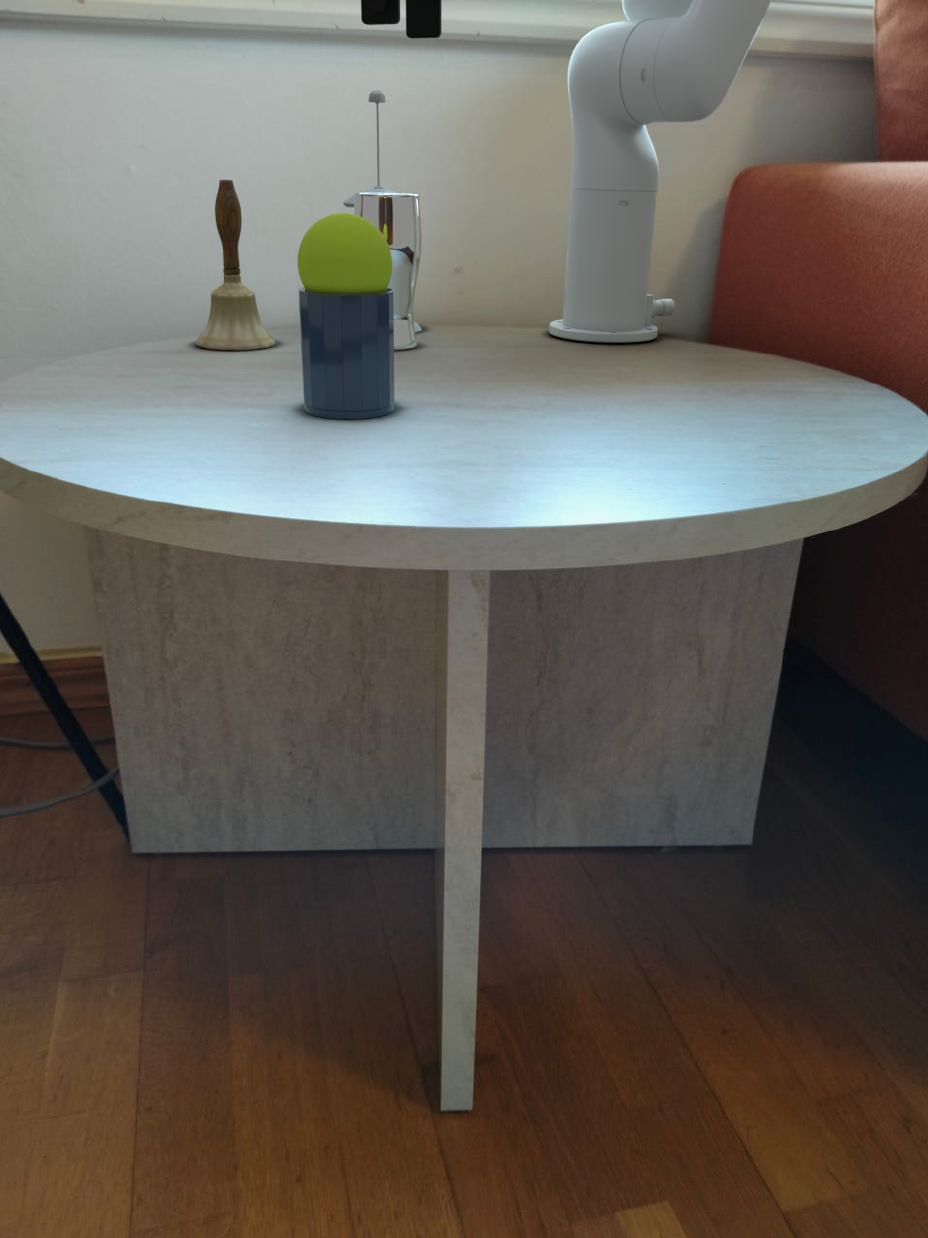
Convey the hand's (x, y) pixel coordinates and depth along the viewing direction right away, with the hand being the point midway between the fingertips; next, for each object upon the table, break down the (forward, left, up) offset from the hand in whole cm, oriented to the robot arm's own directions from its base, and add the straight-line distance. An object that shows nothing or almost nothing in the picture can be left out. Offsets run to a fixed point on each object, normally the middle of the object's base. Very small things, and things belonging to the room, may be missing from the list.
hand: (403, 30), depth 84 cm
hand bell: (+10, -18, -28) cm, 35 cm away
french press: (-9, -22, -28) cm, 37 cm away
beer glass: (-4, -10, -28) cm, 30 cm away
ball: (+14, +15, -17) cm, 27 cm away
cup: (+14, +15, -28) cm, 35 cm away
